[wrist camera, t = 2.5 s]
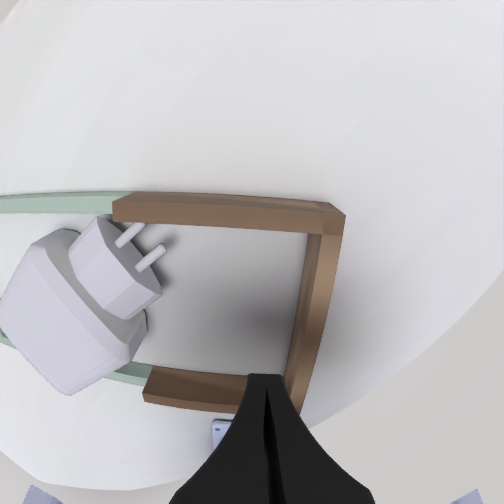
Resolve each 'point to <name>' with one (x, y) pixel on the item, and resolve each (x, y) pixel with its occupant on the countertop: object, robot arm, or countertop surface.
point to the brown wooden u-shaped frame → (310, 298)
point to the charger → (80, 303)
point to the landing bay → (75, 204)
